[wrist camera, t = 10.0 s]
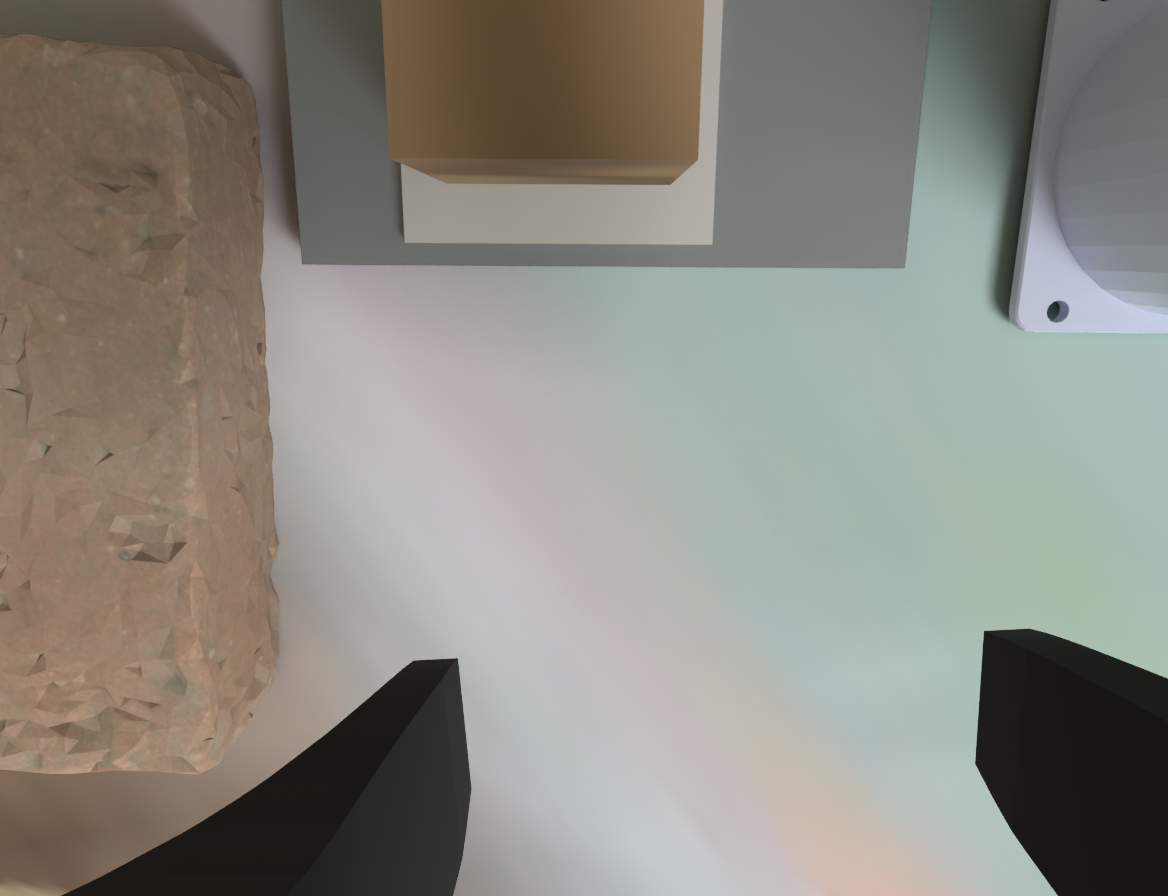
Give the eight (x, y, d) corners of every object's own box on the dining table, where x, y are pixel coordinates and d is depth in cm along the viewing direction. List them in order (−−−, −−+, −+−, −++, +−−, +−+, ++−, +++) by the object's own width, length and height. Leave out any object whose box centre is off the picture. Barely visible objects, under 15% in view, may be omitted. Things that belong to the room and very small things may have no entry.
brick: (-76, 48, 19) (-293, -15, 14) (273, 72, 19) (168, 17, 14) (4, 668, 23) (-143, 773, 18) (290, 688, 23) (213, 798, 18)
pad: (725, -102, 16) (728, -108, 16) (710, 244, 18) (712, 244, 18) (391, -102, 17) (387, -108, 16) (407, 242, 18) (404, 242, 18)
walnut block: (677, -69, 16) (713, -204, 11) (670, 185, 18) (698, 160, 13) (438, -69, 16) (370, -203, 12) (446, 183, 18) (389, 158, 13)
